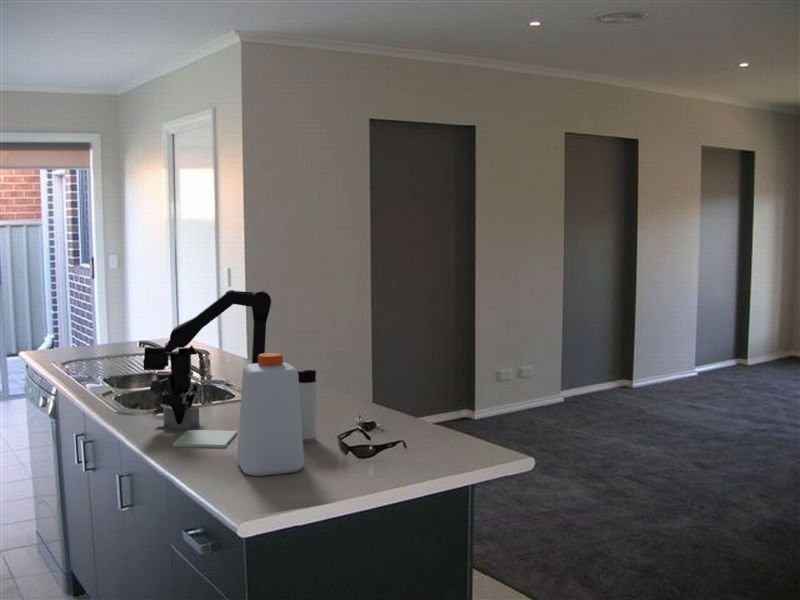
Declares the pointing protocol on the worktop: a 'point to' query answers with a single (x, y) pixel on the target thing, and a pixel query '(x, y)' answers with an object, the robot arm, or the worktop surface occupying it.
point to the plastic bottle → (270, 418)
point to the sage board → (205, 438)
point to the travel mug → (308, 404)
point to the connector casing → (188, 420)
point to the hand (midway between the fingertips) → (181, 421)
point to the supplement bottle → (158, 396)
